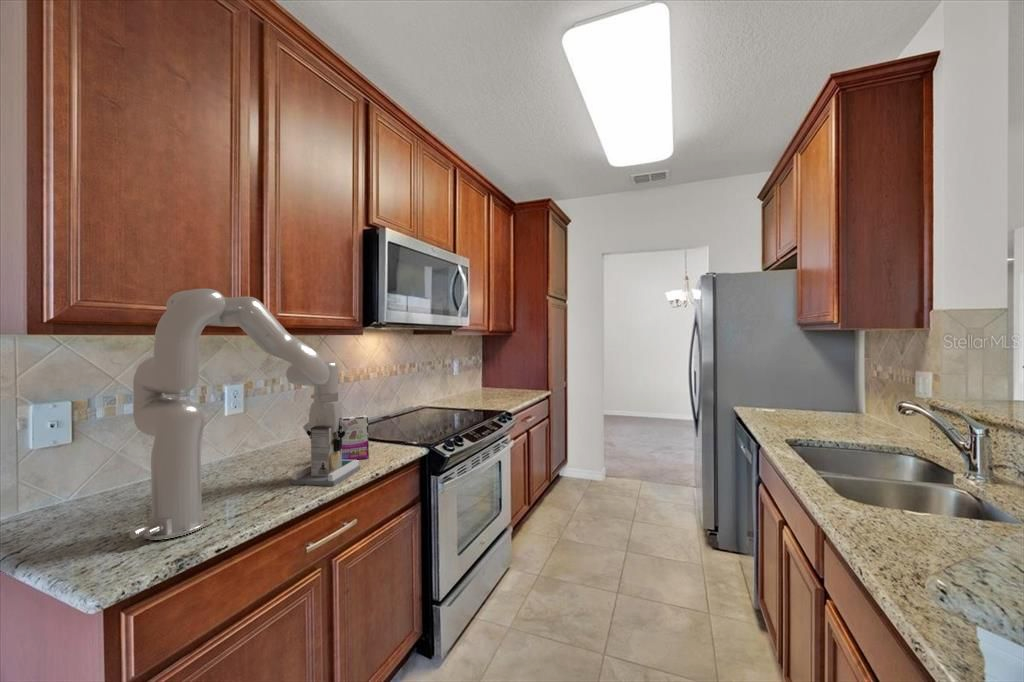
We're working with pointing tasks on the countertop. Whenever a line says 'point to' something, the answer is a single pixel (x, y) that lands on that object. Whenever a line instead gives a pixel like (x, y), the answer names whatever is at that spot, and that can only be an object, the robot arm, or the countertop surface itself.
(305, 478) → the tray
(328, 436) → the coffee box
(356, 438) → the candy bar box
